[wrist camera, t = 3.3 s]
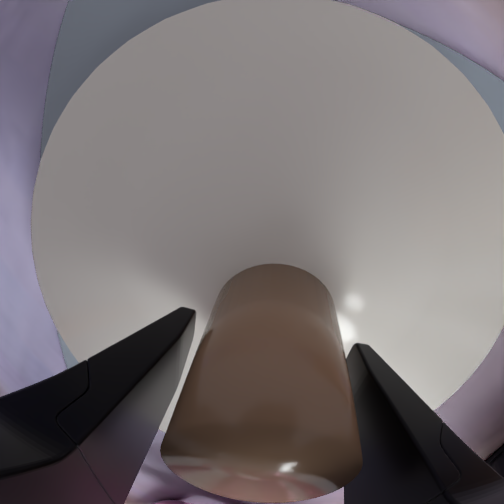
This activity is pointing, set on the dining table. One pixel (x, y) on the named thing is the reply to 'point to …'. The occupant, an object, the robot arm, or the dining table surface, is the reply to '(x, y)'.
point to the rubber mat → (145, 16)
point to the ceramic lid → (276, 228)
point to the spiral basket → (171, 502)
